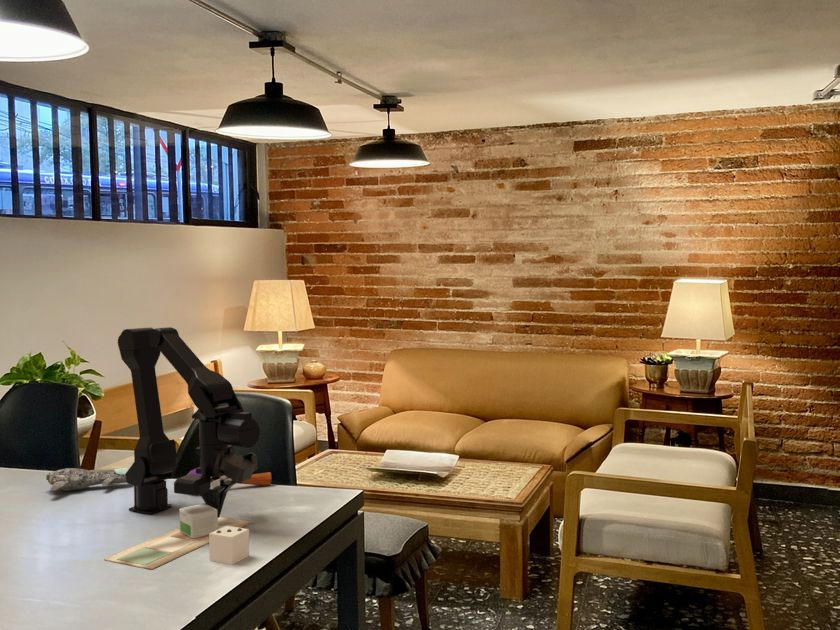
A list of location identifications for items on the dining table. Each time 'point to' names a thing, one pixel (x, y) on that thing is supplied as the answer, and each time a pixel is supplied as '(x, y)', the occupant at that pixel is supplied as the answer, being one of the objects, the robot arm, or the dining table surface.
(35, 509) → the dining table surface
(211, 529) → the small box
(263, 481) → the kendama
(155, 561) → the game board
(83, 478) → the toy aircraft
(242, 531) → the die
